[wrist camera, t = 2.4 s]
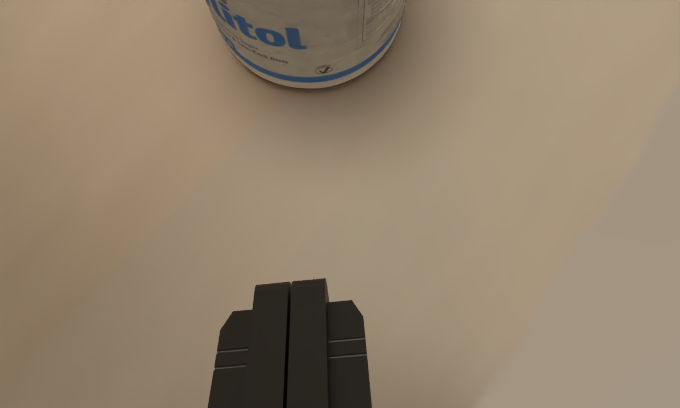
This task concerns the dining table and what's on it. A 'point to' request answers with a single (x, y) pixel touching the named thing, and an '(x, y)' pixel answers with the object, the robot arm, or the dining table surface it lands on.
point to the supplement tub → (308, 37)
